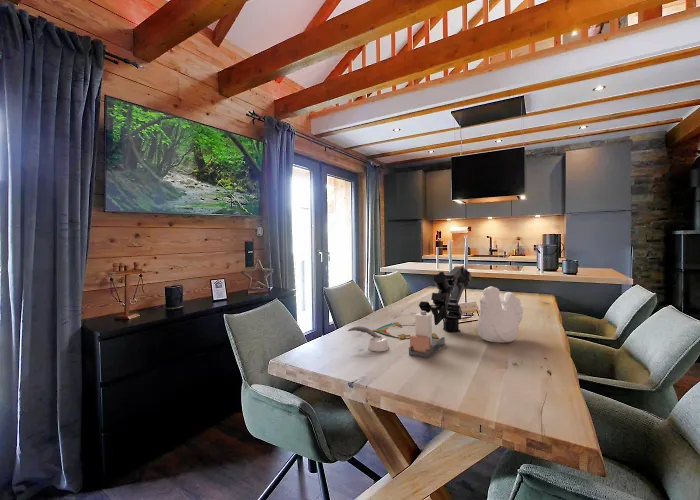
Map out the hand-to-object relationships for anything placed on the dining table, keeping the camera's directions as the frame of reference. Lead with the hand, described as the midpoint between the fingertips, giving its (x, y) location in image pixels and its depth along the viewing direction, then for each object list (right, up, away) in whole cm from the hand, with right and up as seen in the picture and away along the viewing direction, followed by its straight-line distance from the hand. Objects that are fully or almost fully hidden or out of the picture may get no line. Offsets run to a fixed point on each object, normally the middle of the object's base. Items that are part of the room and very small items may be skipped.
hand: (435, 324), depth 146 cm
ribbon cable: (-12, -8, +20) cm, 25 cm away
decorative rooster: (+31, -8, +1) cm, 32 cm away
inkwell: (-30, -9, -6) cm, 32 cm away
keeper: (-8, -7, -11) cm, 15 cm away
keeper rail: (-6, -9, -8) cm, 13 cm away
